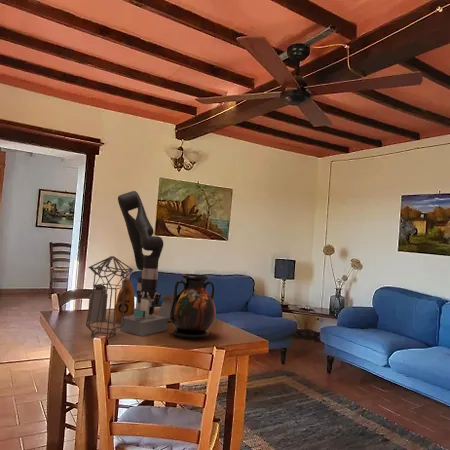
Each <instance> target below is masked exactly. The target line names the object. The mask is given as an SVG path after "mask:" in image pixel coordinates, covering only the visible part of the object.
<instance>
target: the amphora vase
mask: <svg viewBox="0 0 450 450" xmlns="http://www.w3.org/2000/svg"><path fill="white" fill-rule="evenodd" d="M181 277H182V279H184V280H185V281H184V280H181V279H179V280H177V281H176V282H175V284H174V288H173V289H174V290H173V296H174V299H173V303H172V304H171V308H170V319H171V322H170V323H171V324H172V325H173V326H174V328H175V329H173V334H174V335H175V336H176V337H179V338H180V339H181V338H183V339H187V340H200V339H204V338H207V337H208V336H209V335H210V332H209V329H210V328H211V327H212V325H213V324H214V323H215V321H216V318H217V317H216V316H217V312H216V311H217V310H216V306H215V302H214V300H215V299H214V298H215V285H214V283H213V282H212V281H210V280H209V279H210V276H209V275H206V274H199V273H198V274H196V273H195V274H194V273H184V274H182V275H181ZM208 280H209V281H208ZM179 284H182V285H183V288H182V289H181V290H180V291H179V292H178V287H179ZM208 285H210V287H211V293H210V294H209V292H208V291H207V287H208Z"/></svg>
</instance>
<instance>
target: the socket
mask: <svg viewBox="0 0 450 450" xmlns="http://www.w3.org/2000/svg"><path fill="white" fill-rule="evenodd" d="M167 321H168V318H167V317H162V316H157V314H153V318H150V319H143V320H138V321H133V320H129V319H125V318H124V326H122V327H121V328H119V331H121V332H123V333H124V332H125V333H128V334H132V335H137V336H139V337H144V336H149V335H151V334H152V335H153V334H157V333H161V332H165V331H167V330H168V322H167ZM121 323H123V317H122V320H121ZM119 326H121V324H120V325H119Z"/></svg>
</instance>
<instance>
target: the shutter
mask: <svg viewBox="0 0 450 450" xmlns="http://www.w3.org/2000/svg"><path fill="white" fill-rule="evenodd" d="M124 318H125V319H129V320H133V321H138V320H143V319H145V318H146V317H145V311H143V310H138V309H136V308H135V309H134V315H129V316H125V317H124Z"/></svg>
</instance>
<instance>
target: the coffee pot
mask: <svg viewBox="0 0 450 450" xmlns="http://www.w3.org/2000/svg"><path fill="white" fill-rule="evenodd" d="M162 297H163V301H162V303H161V305H160V307H159V309H158V311H157V314H156V315H157V316H162V317H167V318H168V321H167V323H172V322H171V319H170V308H171V304H172V303H173V299H174V295H163V296H162Z"/></svg>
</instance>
